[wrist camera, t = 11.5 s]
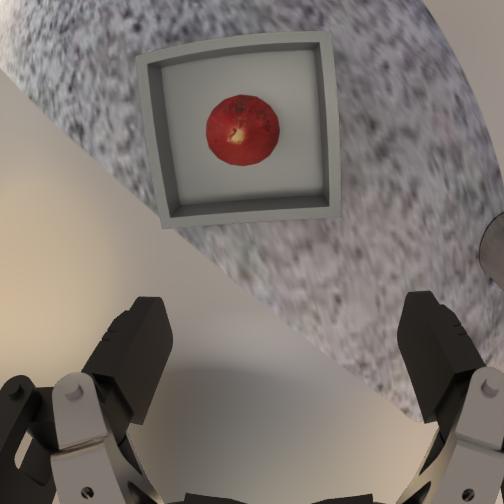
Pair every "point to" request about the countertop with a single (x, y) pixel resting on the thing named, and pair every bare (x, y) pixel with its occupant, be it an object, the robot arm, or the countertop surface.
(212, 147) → the onion
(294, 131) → the tray
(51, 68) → the countertop surface
